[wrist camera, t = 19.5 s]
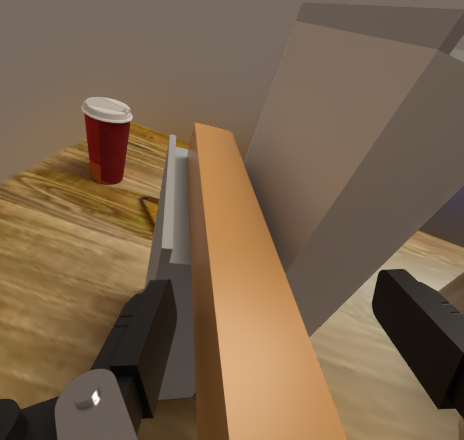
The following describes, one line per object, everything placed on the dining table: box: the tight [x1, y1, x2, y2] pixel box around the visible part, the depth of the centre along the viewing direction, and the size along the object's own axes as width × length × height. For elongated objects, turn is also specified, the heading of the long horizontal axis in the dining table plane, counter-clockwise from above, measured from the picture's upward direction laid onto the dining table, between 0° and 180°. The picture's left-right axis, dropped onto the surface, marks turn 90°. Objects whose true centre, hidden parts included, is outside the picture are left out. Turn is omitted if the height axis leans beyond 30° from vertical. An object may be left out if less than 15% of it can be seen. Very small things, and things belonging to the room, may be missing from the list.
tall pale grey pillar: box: [243, 3, 464, 337], centre depth 23 cm, size 13×6×33 cm, turn 9°
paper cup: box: [81, 97, 133, 185], centre depth 46 cm, size 8×8×14 cm
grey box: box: [145, 134, 196, 400], centre depth 24 cm, size 13×6×22 cm, turn 9°
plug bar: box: [187, 122, 348, 440], centre depth 13 cm, size 20×3×3 cm, turn 9°
